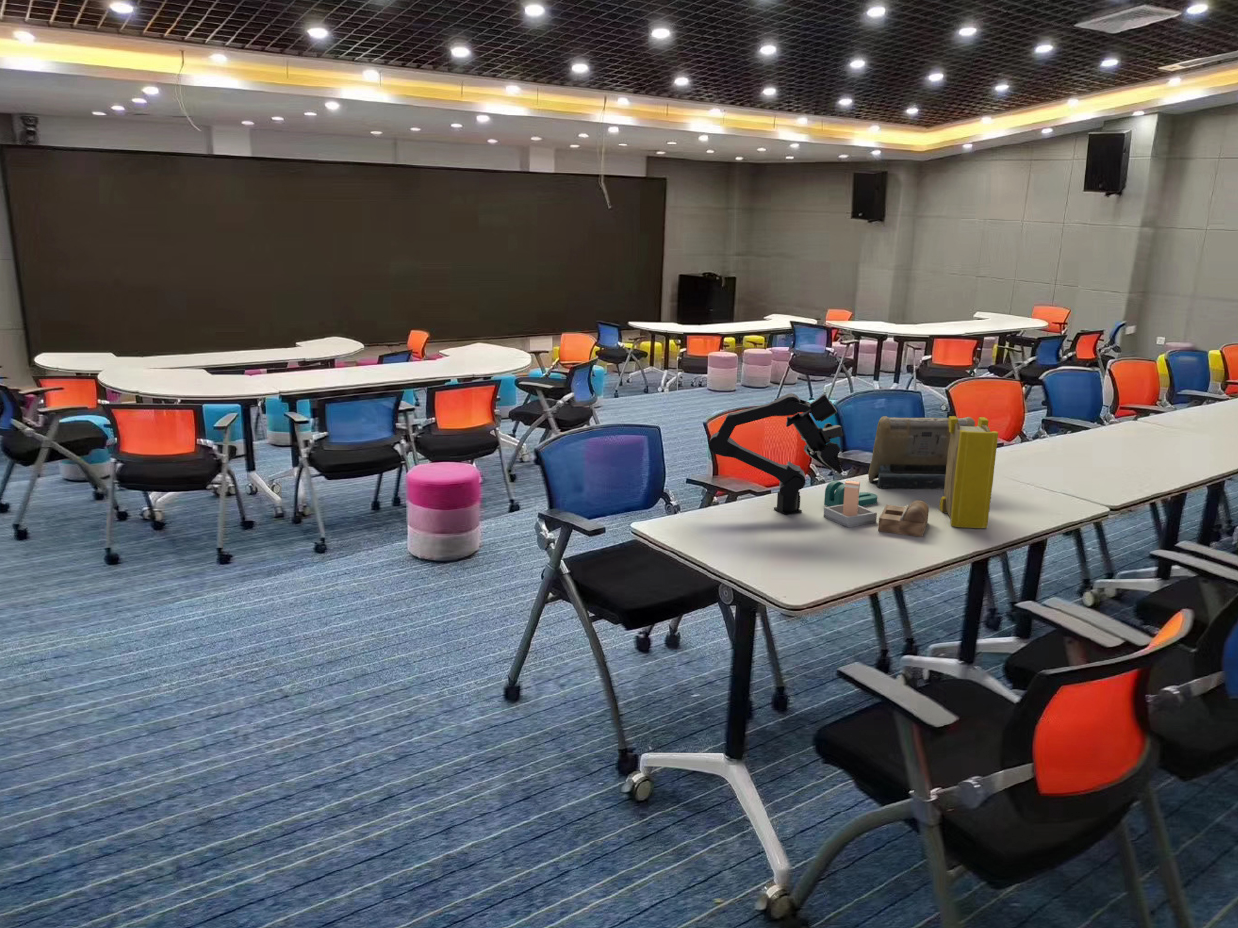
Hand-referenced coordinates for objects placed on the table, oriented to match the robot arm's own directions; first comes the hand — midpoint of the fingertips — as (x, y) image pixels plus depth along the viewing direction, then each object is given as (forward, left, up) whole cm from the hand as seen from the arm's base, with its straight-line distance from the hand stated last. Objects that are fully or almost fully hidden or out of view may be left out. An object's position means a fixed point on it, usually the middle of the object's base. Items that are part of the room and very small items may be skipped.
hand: (836, 470), depth 260 cm
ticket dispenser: (+10, -19, -14) cm, 26 cm away
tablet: (+47, +12, -14) cm, 50 cm away
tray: (0, -7, -14) cm, 15 cm away
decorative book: (+32, -21, -14) cm, 41 cm away
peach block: (0, -7, -13) cm, 15 cm away
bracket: (+12, +5, -14) cm, 19 cm away
